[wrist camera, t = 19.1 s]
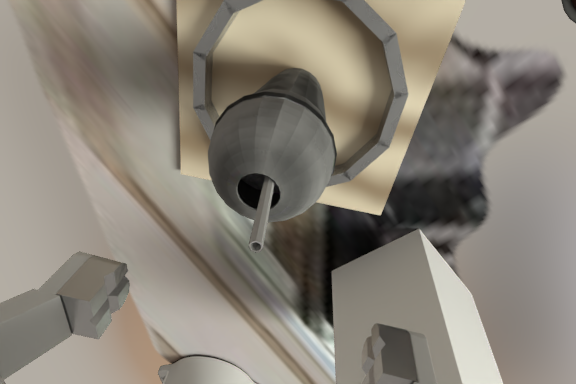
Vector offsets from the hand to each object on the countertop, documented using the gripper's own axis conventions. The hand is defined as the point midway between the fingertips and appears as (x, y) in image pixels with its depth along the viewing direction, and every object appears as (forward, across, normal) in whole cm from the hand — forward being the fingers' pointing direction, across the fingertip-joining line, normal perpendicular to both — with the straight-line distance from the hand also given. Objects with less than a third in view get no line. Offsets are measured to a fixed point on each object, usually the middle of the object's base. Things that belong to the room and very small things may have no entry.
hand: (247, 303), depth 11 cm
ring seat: (+22, +1, 0) cm, 22 cm away
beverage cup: (+22, +1, 0) cm, 22 cm away
